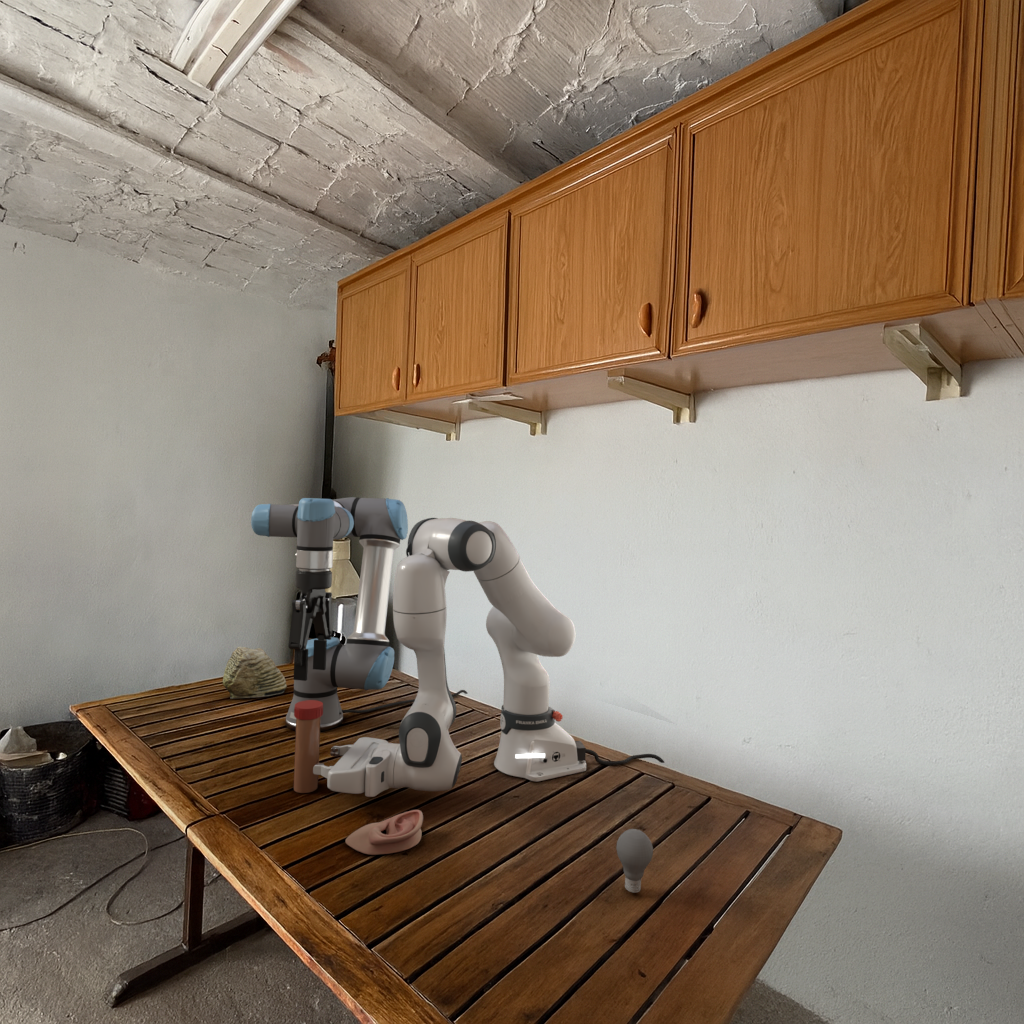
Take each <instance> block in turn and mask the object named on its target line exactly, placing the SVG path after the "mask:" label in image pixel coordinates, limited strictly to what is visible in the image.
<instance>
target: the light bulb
mask: <svg viewBox="0 0 1024 1024" xmlns="http://www.w3.org/2000/svg"><path fill="white" fill-rule="evenodd" d="M615 849H616V854H617V857H618V859H619V861H620V863H621V865H622V867H623V873H624V874H623V875H624V876H625V878H624V888H625V890H627V891H628V892H630V893H634V894H635V893H639V892H640V891H641V889H642V887H641V886H642V879H643V877H644V875H645V871H646V868H647V867H648V866H649V864H650V863H651V861H652V859H653V855H654V847H653V843H652V841H651V838H649V836H648V835H647V834H646V833H645V832H643V831H642V830H641V829H636V828H629V829H627V830H625V831H623V832H622V833H621V834H620V835H619V837H618V839H617V841H616V847H615Z"/></svg>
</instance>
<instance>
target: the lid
mask: <svg viewBox="0 0 1024 1024" xmlns="http://www.w3.org/2000/svg"><path fill="white" fill-rule="evenodd" d="M322 715H323V703H322V702H320V701H316V700H306V701H301V702H298V703H296V704H295V708H294V716H295V718H297V719H301V720H311V719H316V718H319V717H321V716H322Z"/></svg>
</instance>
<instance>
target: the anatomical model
mask: <svg viewBox="0 0 1024 1024" xmlns="http://www.w3.org/2000/svg"><path fill="white" fill-rule="evenodd" d="M423 814H424V813H423V812H422V810H420V809H411V810H409V811H404V812H401V813H398V814H396V815H393V816H391V817H388V818H387V819H385V820H382V821H380V822H371V823H368V824H365V825H363V826H361V827H359V828H357V829H356V830H355V831H353V832H352V833H351V834H349V835H348V836H347V837H346V838H345V842H344V843H345V844H346V845H347V846H349V847H350V848H351V849H353V850H355V851H357V852H360V853H362V854H365V855H368V856H369V855H370V856H376V855H387V854H393V853H399V852H403V851H406V850H409V849H411V848H413V847H415V846H416V845H418V844H419V843H420V841H421V840H422V835H423V834H422V832H423V831H422V828H421V827H422V826H423V822H424V815H423Z"/></svg>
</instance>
